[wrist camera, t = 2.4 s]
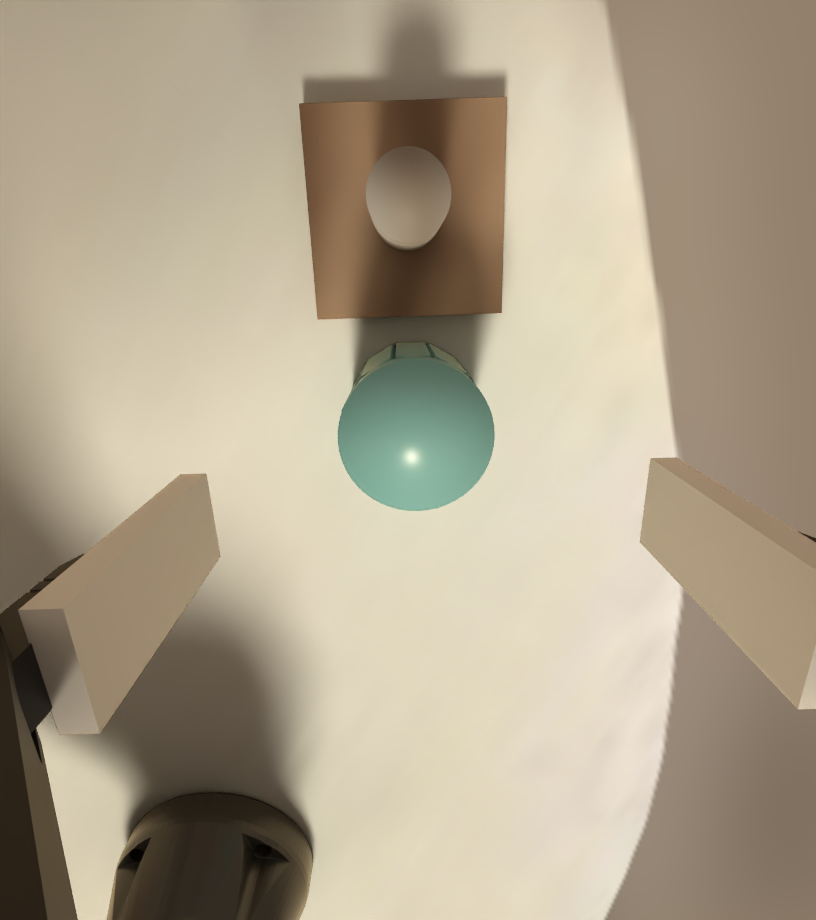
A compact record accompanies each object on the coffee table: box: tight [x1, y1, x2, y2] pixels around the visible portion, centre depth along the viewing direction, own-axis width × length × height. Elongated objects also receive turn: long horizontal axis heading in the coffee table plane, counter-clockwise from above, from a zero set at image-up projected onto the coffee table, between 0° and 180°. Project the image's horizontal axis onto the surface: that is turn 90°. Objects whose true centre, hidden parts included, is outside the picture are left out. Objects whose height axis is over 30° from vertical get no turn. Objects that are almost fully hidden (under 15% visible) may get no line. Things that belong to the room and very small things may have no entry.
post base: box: [299, 97, 507, 319], centre depth 24 cm, size 10×10×7 cm
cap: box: [338, 342, 494, 511], centre depth 26 cm, size 7×7×8 cm
